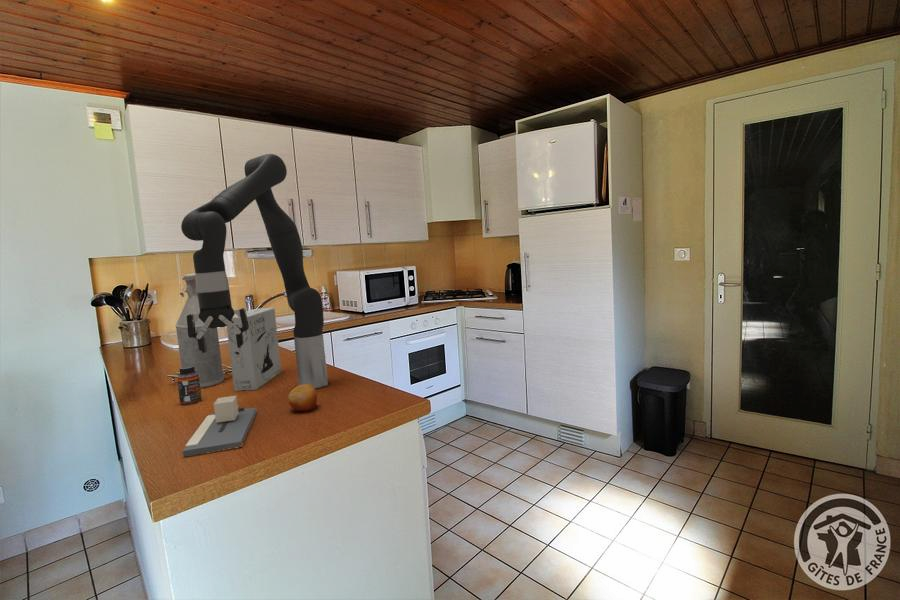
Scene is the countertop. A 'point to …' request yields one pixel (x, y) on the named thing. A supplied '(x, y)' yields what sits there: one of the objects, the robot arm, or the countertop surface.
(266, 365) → the cereal box
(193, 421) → the countertop surface
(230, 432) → the board
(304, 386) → the fruit
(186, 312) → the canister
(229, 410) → the tab
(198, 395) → the supplement bottle
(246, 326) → the robot arm
